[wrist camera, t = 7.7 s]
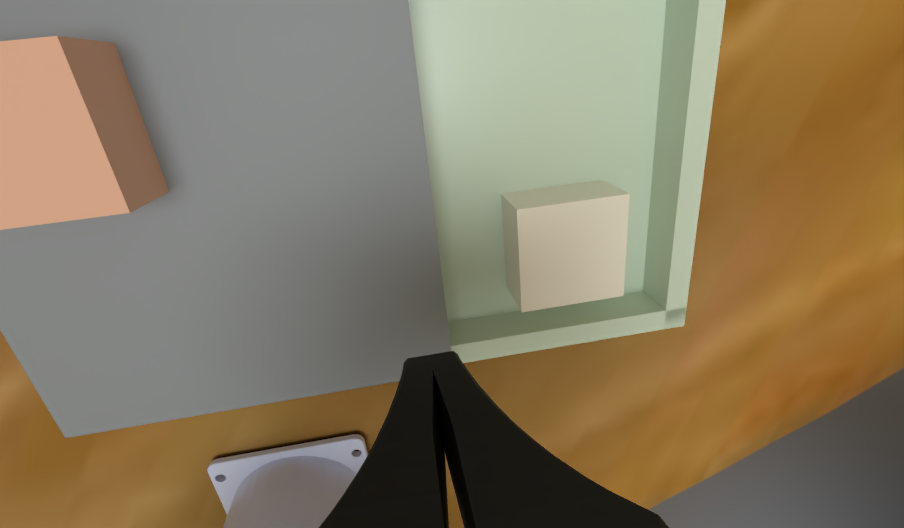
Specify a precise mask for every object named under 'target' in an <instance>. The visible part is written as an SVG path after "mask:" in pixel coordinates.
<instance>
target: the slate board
mask: <svg viewBox="0 0 904 528" xmlns="http://www.w3.org/2000/svg"><path fill="white" fill-rule="evenodd" d="M50 36H63V37H71V38H79V39H88V40H96V41H104V42H113V43H115V46H116V48H117V51H118V54H119V56H120V59H121V62H122V65H123V67H124V70H125V73H126V75H127V78H128V81H129V84H130V86H131V89H132V92H133V94H134V97H135V100H136V103H137V105H138V108H139V111H140V113H141V116H142V119H143V122H144V124H145V127H146V130H147V132H148V135H149V138H150V141H151V143H152V146H153V149H154V152H155V154H156V157H157V160H158V162H159V165H160V168H161V171H162V173H163V176H164V179H165V181H166V184H167V187H168V190H169V192H168V193H166V194H164V195H162V196H161V197H159V198H157V199H155V200H153V201H151V202H149V203H148V204H146V205H144V206H142V207H140V208H138V209H136V210H134V211H133V212H131V213H125V214H118V215H110V216H103V217H95V218H87V219H80V220H72V221H65V222H57V223H49V224H42V225H34V226H27V227H19V228H11V229H4V230H0V330H1V332H2V334H3V335H4V337H5V339H6V340H7V342H8V344H9V345H10V347H11V349H12V350H13V352H14V354H15V355H16V357H17V359H18V360H19V362H20V364H21V365H22V367H23V369H24V370H25V372H26V373H27V375H28V377H29V378H30V380H31V382H32V383H33V385H34V387H35V388H36V390H37V392H38V393H39V395H40V397H41V398H42V400H43V402H44V403H45V405H46V407H47V408H48V410H49V412H50V413H51V415H52V417H53V418H54V420H55V422H56V423H57V425H58V426H59V428H60V430H61V431H62V433H63V435H64V436H65V438H68V437H74V436H80V435H86V434H92V433H98V432H104V431H109V430H115V429H121V428H127V427H133V426H139V425H145V424H150V423H156V422H162V421H168V420H174V419H180V418H186V417H192V416H197V415H203V414H209V413H215V412H221V411H227V410H233V409H238V408H244V407H250V406H256V405H262V404H268V403H274V402H280V401H285V400H291V399H297V398H303V397H309V396H315V395H321V394H327V393H332V392H338V391H344V390H350V389H356V388H362V387H368V386H373V385H379V384H385V383H391V382H397V381H400V379H401V375H402V370H403V364H404V362H405V361H406V359H407V358H412V357H419V356H425V355H431V354H437V353H443V352H449V351H451V345H450V336H449V328H448V320H447V312H446V304H445V296H444V288H443V280H442V271H441V263H440V255H439V247H438V239H437V231H436V223H435V214H434V206H433V198H432V190H431V182H430V174H429V166H428V158H427V149H426V141H425V133H424V125H423V117H422V109H421V101H420V93H419V84H418V76H417V68H416V60H415V52H414V44H413V36H412V27H411V19H410V11H409V3H408V0H0V41H9V40H19V39H29V38H39V37H50Z"/></svg>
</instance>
